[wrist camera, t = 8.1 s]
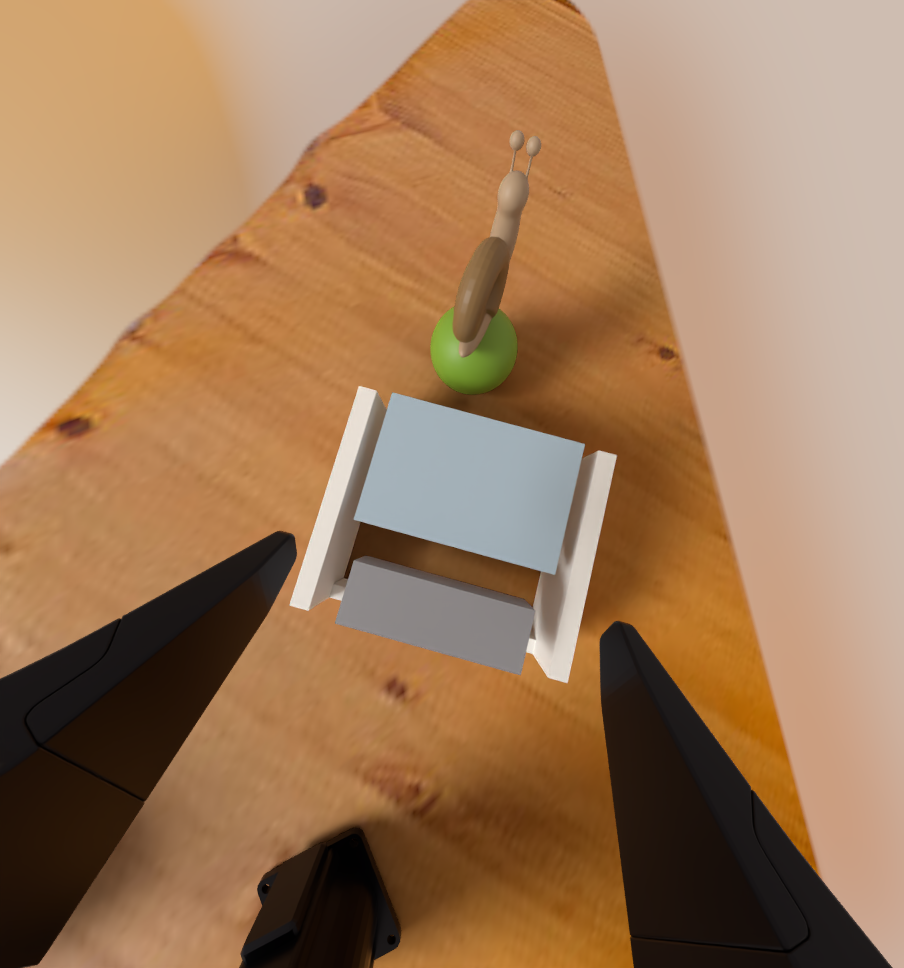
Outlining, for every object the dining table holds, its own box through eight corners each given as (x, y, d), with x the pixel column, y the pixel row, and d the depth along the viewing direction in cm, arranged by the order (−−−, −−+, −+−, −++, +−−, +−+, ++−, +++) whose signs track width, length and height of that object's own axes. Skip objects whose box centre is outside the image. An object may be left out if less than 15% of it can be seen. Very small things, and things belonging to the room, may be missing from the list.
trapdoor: (573, 450, 19) (591, 440, 17) (524, 658, 18) (537, 680, 15) (396, 403, 19) (389, 386, 17) (335, 605, 18) (318, 618, 16)
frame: (579, 469, 23) (616, 455, 18) (539, 645, 21) (567, 683, 17) (377, 415, 23) (359, 385, 18) (325, 586, 22) (289, 605, 17)
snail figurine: (523, 337, 24) (600, 153, 12) (493, 417, 23) (541, 307, 11) (453, 311, 24) (460, 104, 12) (421, 390, 23) (393, 253, 11)
